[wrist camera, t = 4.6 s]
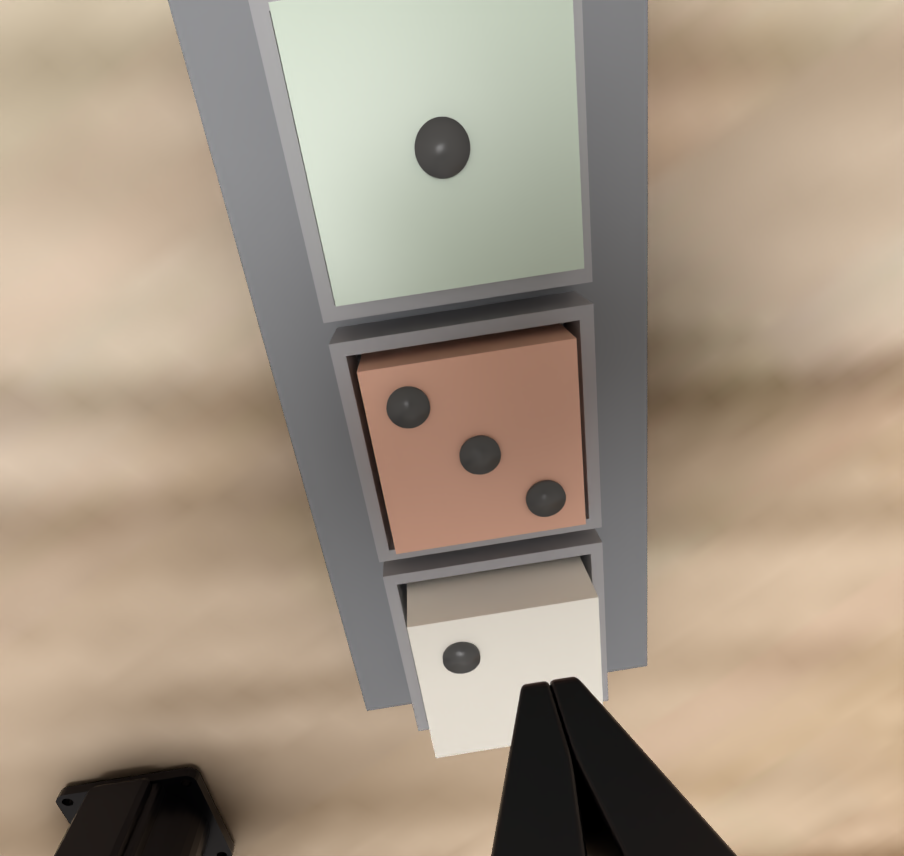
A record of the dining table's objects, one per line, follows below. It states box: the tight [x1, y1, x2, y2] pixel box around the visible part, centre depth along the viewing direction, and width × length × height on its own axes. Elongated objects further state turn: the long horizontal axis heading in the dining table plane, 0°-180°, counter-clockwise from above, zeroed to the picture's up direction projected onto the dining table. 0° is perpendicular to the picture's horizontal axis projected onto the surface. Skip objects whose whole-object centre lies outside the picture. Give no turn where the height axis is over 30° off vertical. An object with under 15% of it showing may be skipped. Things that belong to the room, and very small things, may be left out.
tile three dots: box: [357, 323, 586, 554], centre depth 18 cm, size 6×6×3 cm
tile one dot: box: [268, 0, 584, 306], centre depth 13 cm, size 6×6×3 cm
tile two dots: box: [407, 556, 603, 758], centre depth 20 cm, size 6×6×3 cm
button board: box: [168, 0, 648, 731], centre depth 19 cm, size 25×12×4 cm, turn 8°
